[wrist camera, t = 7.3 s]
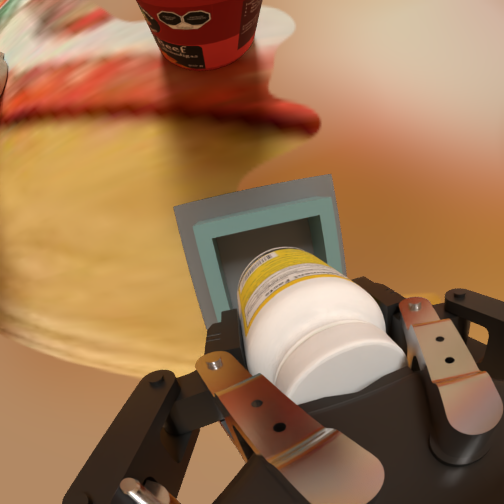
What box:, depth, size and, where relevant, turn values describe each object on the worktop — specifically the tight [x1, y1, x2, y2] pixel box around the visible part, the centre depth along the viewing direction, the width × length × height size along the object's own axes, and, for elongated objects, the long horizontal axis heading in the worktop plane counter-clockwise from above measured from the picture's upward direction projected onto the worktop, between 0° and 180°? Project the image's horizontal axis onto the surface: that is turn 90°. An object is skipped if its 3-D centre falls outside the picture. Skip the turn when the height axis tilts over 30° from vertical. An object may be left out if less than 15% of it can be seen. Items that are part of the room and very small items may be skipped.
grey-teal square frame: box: [174, 174, 347, 330], centre depth 20 cm, size 12×12×4 cm
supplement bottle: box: [237, 247, 409, 405], centre depth 11 cm, size 5×5×10 cm
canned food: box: [136, 0, 262, 71], centre depth 12 cm, size 8×8×11 cm
